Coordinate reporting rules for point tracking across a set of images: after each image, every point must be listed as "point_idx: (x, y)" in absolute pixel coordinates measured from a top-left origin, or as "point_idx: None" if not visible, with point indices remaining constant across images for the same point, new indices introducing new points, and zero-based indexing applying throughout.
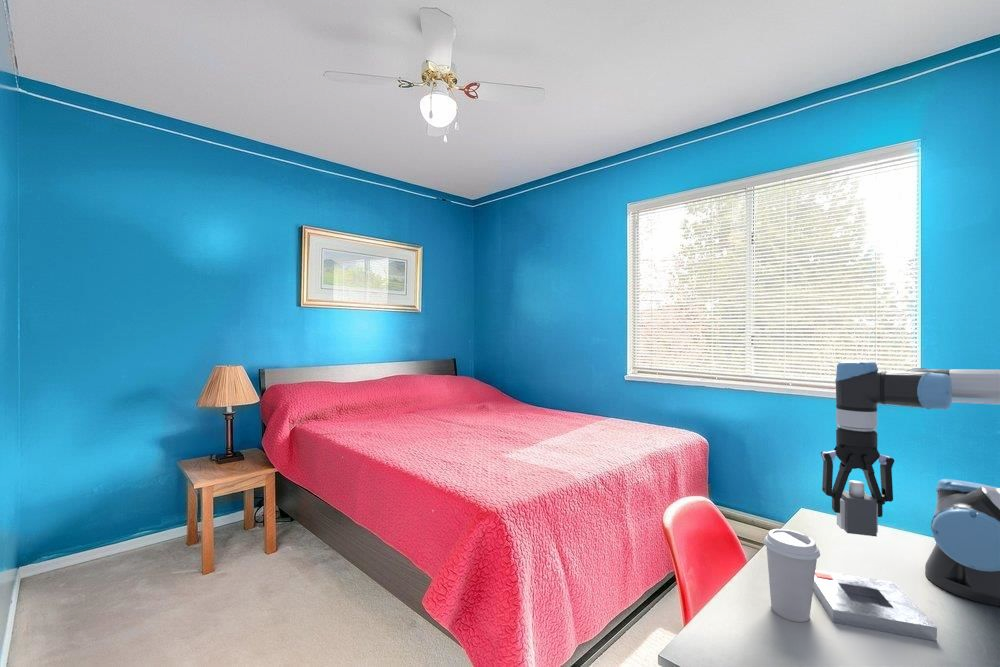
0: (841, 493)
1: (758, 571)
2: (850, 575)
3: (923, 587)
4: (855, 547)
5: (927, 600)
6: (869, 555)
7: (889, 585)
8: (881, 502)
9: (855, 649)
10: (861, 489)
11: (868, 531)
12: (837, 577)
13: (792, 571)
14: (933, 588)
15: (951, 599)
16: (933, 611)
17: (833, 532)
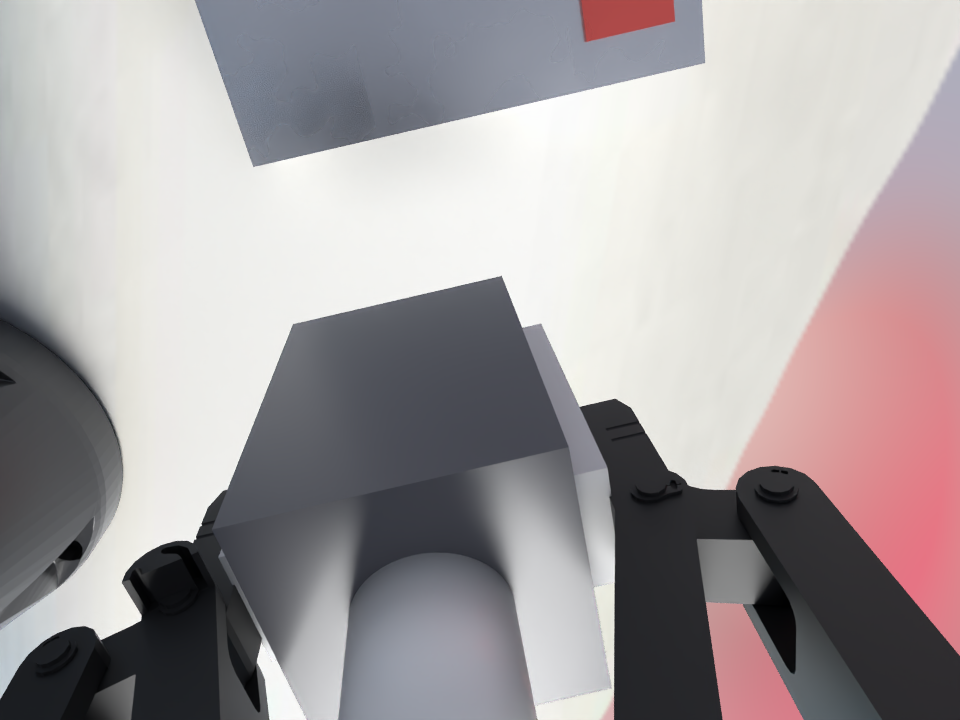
0: (626, 538)
1: (930, 11)
2: (469, 115)
3: (132, 324)
4: None
5: (116, 174)
6: None
7: (273, 99)
8: (166, 561)
9: None
10: (381, 658)
11: (348, 325)
12: (547, 32)
13: None
14: (91, 340)
15: (16, 258)
16: (90, 45)
17: None
